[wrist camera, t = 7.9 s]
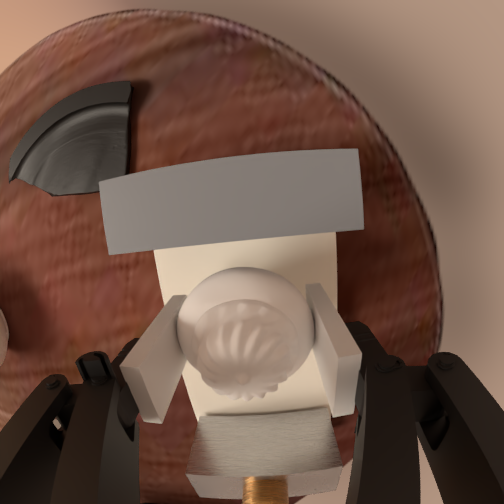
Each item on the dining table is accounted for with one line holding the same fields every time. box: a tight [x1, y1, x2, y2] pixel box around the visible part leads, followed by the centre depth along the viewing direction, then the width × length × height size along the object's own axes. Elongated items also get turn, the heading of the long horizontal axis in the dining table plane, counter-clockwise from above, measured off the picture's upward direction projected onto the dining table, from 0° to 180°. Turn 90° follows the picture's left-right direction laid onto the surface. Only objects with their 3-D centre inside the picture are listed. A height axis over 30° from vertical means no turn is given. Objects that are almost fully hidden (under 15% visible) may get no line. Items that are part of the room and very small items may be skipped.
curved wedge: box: [9, 81, 134, 196], centre depth 16 cm, size 8×14×2 cm, turn 87°
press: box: [99, 149, 364, 421], centre depth 16 cm, size 24×11×8 cm, turn 6°
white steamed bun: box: [177, 267, 315, 401], centre depth 12 cm, size 6×6×7 cm
